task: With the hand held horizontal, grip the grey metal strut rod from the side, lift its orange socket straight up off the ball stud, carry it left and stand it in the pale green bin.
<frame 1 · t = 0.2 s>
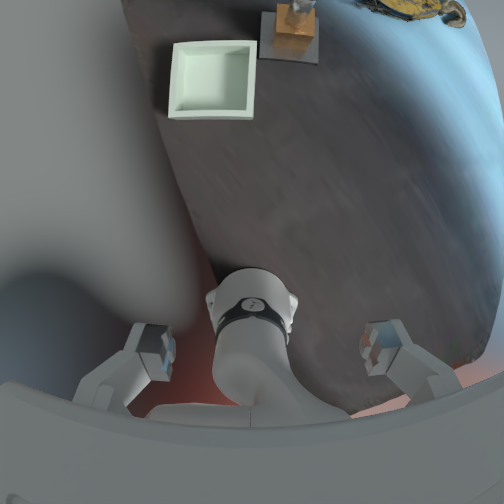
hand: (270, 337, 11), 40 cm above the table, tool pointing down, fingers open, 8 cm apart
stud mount: (289, 38, 37), on the table
strut: (289, 35, 36), point 1 cm above the table, touching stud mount
bin: (216, 84, 41), on the table
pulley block: (410, 4, 31), on the table
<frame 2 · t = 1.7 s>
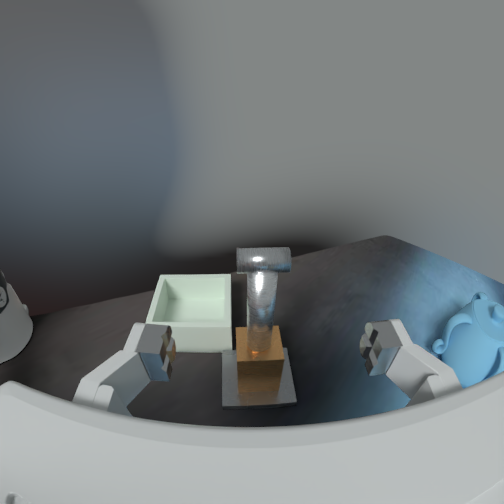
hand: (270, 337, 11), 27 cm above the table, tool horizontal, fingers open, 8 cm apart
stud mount: (256, 379, 38), on the table
decorative pot: (464, 365, 36), on the table
strut: (257, 375, 37), point 1 cm above the table, touching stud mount
bin: (195, 323, 48), on the table
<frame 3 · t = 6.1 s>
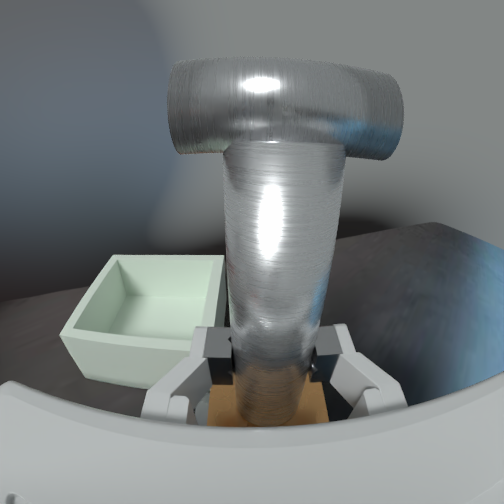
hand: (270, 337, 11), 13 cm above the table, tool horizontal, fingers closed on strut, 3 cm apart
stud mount: (261, 453, 16), on the table
strut: (262, 449, 16), point 1 cm above the table, touching gripper, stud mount
bin: (160, 337, 27), on the table
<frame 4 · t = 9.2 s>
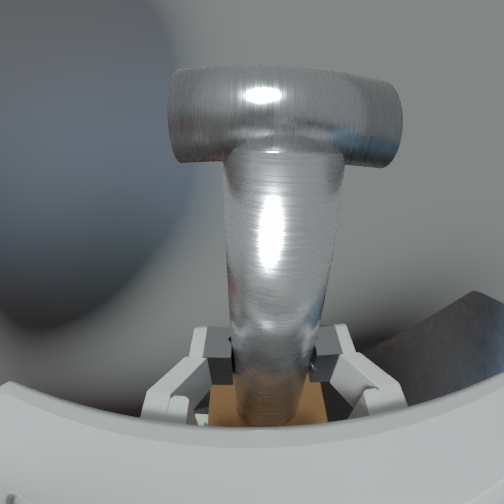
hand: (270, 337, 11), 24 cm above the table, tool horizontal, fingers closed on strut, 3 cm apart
strut: (262, 449, 16), point 13 cm above the table, touching gripper
when the fingers open (14 cm above the table, at t = 12.0 s): strut drops 1 cm, resting on bin.
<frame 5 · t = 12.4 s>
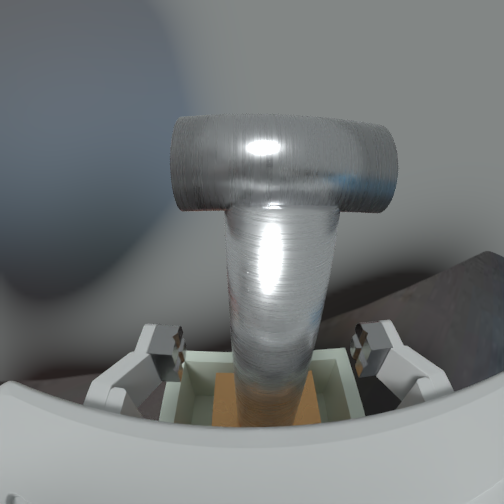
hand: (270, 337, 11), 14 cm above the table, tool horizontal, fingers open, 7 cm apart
strut: (261, 454, 16), point 1 cm above the table, touching bin
bin: (261, 457, 17), on the table
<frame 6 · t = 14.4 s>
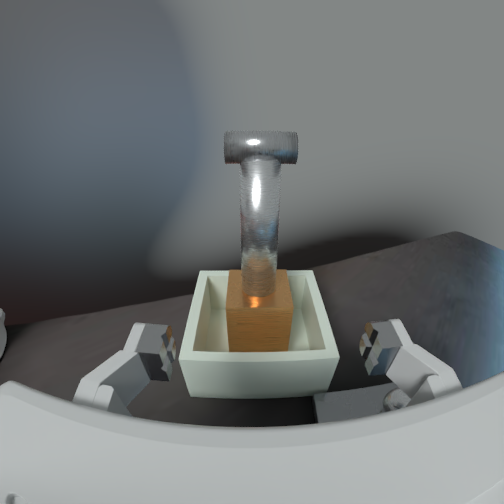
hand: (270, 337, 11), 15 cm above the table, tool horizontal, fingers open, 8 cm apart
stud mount: (371, 436, 19), on the table
strut: (257, 343, 29), point 1 cm above the table, touching bin
bin: (257, 348, 29), on the table
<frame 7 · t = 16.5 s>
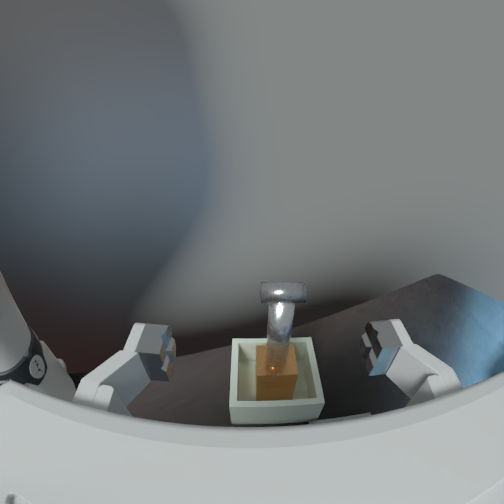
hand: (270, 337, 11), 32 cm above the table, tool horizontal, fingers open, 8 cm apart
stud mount: (344, 447, 31), on the table
strut: (273, 387, 41), point 1 cm above the table, touching bin
bin: (272, 390, 42), on the table
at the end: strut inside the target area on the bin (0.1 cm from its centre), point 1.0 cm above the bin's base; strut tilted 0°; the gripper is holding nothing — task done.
